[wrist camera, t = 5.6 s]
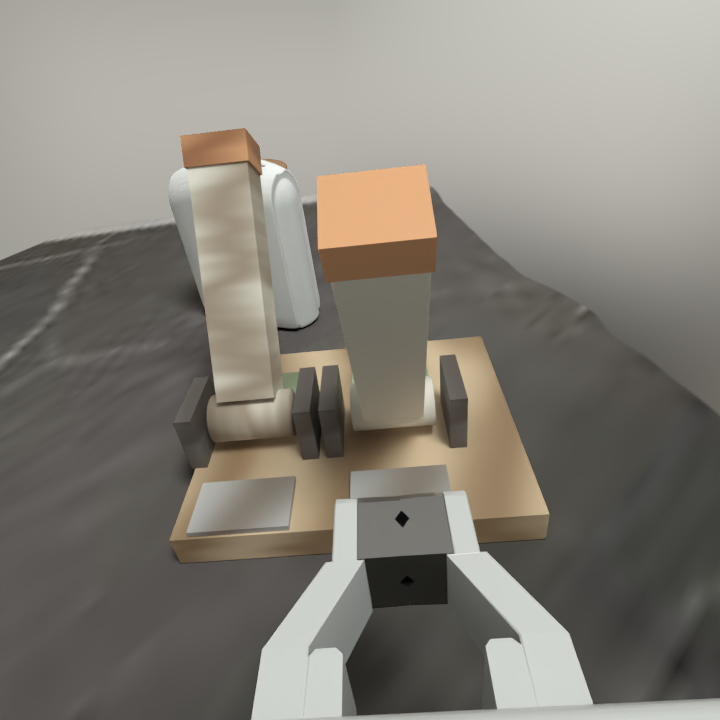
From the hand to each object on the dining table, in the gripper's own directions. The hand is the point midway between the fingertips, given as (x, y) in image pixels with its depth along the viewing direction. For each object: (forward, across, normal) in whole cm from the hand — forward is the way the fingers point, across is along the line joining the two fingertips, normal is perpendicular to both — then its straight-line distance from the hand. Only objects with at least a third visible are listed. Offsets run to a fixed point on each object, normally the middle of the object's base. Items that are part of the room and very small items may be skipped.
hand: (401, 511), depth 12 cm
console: (+13, -2, -10) cm, 16 cm away
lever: (+12, 0, -7) cm, 14 cm away
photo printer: (+29, -10, -10) cm, 32 cm away
